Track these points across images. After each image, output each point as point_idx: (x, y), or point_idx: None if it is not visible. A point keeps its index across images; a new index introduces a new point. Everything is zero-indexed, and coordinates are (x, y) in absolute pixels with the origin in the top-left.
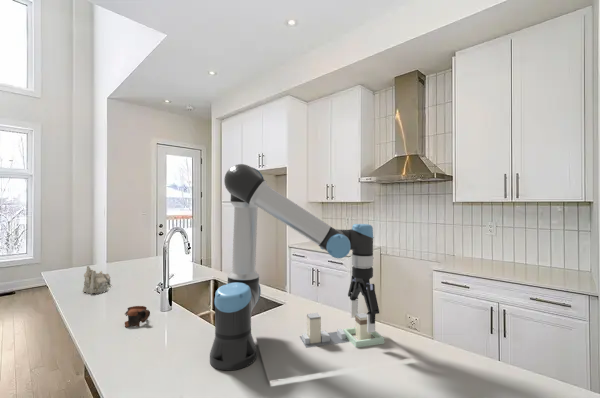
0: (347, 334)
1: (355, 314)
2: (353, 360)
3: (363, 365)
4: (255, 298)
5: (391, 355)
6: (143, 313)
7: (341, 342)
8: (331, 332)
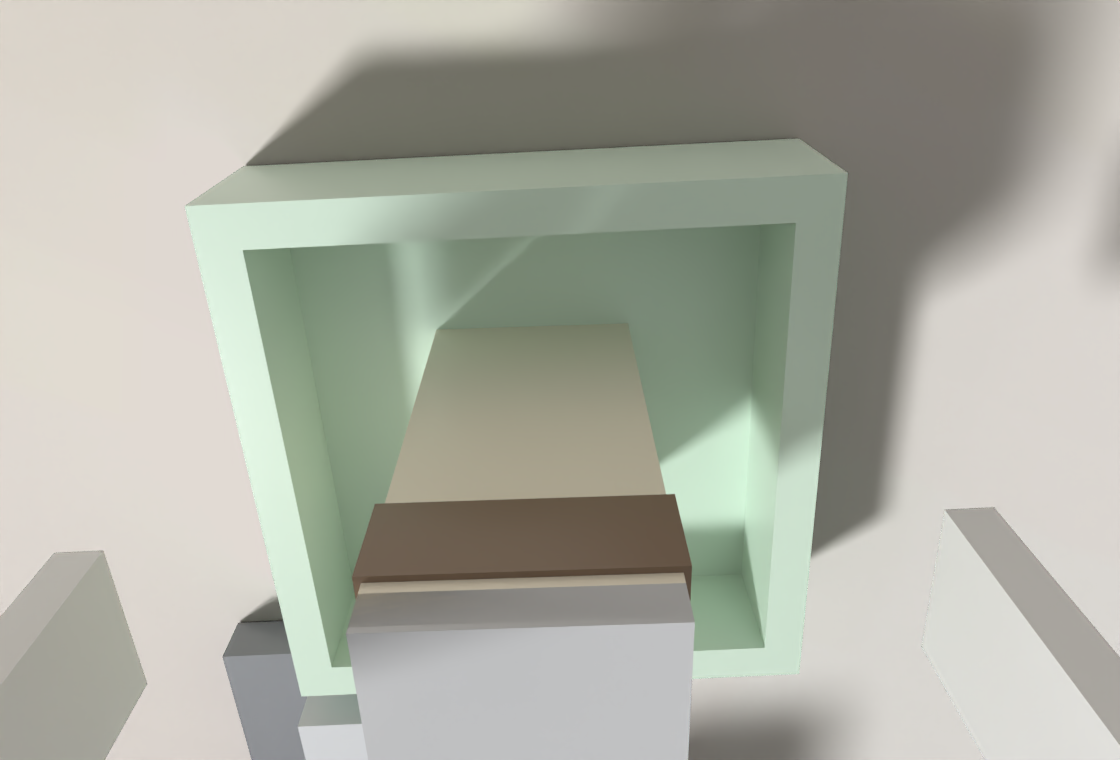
0: None
1: (83, 651)
2: None
3: (1112, 617)
4: None
5: (1093, 164)
6: None
7: None
8: (252, 751)
